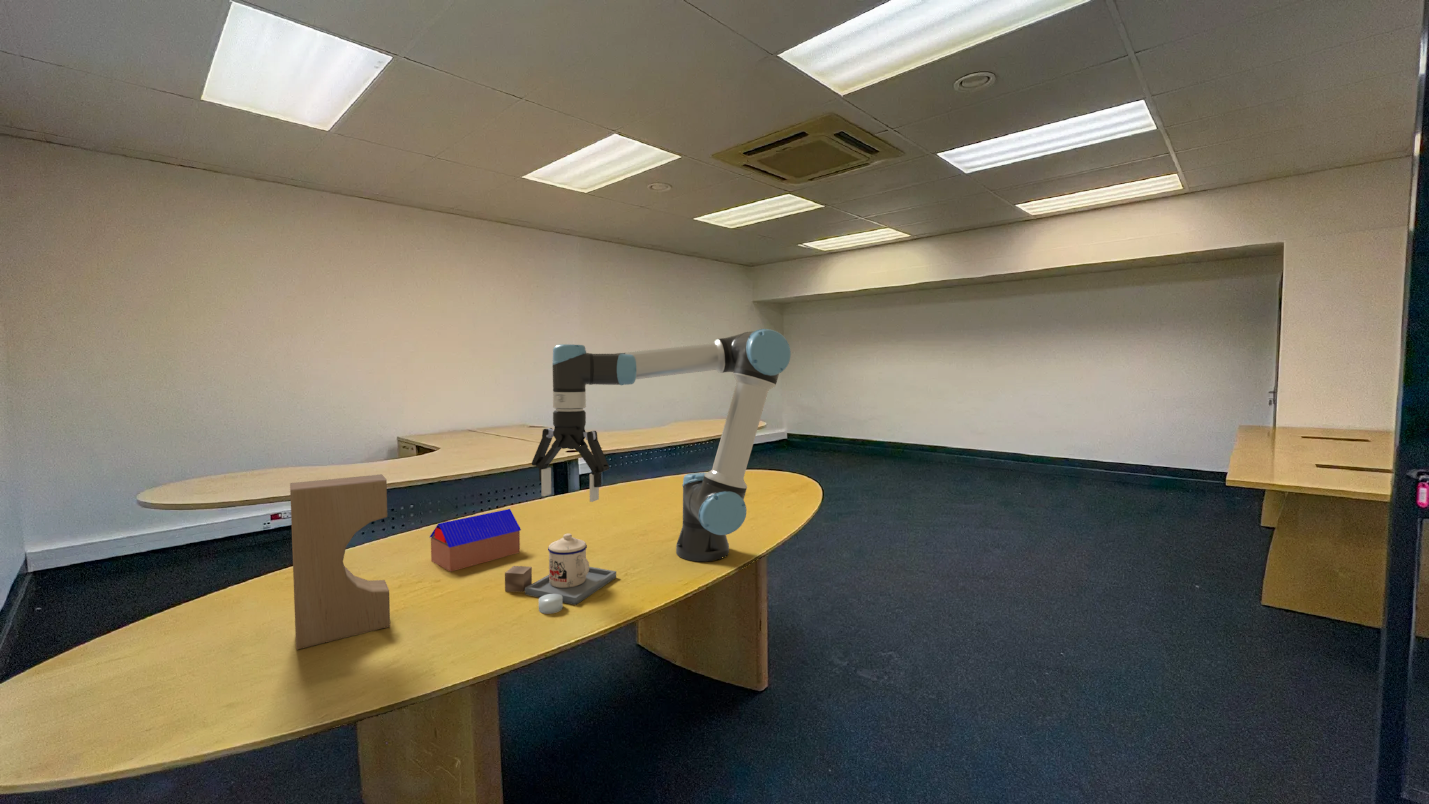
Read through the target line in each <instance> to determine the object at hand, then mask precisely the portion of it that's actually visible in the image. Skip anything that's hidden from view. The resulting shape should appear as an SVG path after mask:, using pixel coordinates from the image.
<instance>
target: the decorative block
mask: <svg viewBox="0 0 1429 804" xmlns="http://www.w3.org/2000/svg"><path fill="white" fill-rule="evenodd" d="M387 483H388V482H387V478H385V476H384V475H383V474H371V475H370V474H369V475H360V476H352V477H339V478H332V479H331V478H330V479H329V478H328V479H321V480H319V479H318V480H309V481H308V480H307V481H299V482H297V481H296V482H290V483H289V488H290V489H289V490H290V491H289V493H290V494H289V495H290V519H291V520H290V522H291V523H290V524H291V544H292V545H291V547H292V549H291V550H292V575H293V598H294V599H293V600H294V601H293V602H294V626H295V627H294V629H295V630H294V631H295V649H297V650H300V649H305V648H309V647H313V646H316V645H321V644H324V643H325V642H326V643H328V642H334V641H336V640H341V639H344V638H345V639H346V638H348V637H353V636H356V635H362V634H366V633H369V632H373V631H377V630H381V629H385V628H389V627H391V609H390V602H391V601H390V589H389V587H388V584H387V582H386V580H385V579H376V580H374V579H372V580H368V579H365V578H362V577H359V576H356V575H354V574H353V572H351V571H350V570H349V569H348V568H347V567H346V565H345V564H344V559H345V552H346V549H347V546H348V545H349V543H350V542H351V540H352V539H353V537H354V536H355V534H356V533H357V532H359V531H360V530H361V529H363V528H365V527H366V526H367V525H368V524H370V523H372V522H375V521H378V520H381V519H385V518H388V491H387V490H388V489H387V487H388V486H387Z"/></svg>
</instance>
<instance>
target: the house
mask: <svg viewBox="0 0 1429 804" xmlns="http://www.w3.org/2000/svg"><path fill="white" fill-rule="evenodd" d="M520 531H522V529H521V527H520V525H519V523H518V522H517V519H516V517H515V516H514V513H513V512H512V510H511V509H510V508H509V509H508V508H507V509H503V510H497V511H494V512H493V511H492V512H489V513H488V512H487V513H483V514H478V515H474V516H469V517H464V518H459V519H455V520H450V521H445V522H440V523H438V524H437V525H436V526H435V527H434V529H433V531H432V533H430V535H429V538H430V560H431V562H432V563H434V564H436V565H437V566H439V567H441V568H443V569H444V570H446V571H448V572H450V573H451V572H454V571H457V570H461V569H465V568H468V567H472V566H476V565H480V564H482V563H486V562H491V561H494V560H498V559H501V558H502V559H503V558H504V557H508V556H511V555H512V556H513V555H515V554H519V552H520V551H521V549H520V548H521V547H520V546H521V543H520V539H521V538H520V537H521V536H520V535H521V534H520Z"/></svg>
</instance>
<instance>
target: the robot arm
mask: <svg viewBox="0 0 1429 804" xmlns="http://www.w3.org/2000/svg"><path fill="white" fill-rule="evenodd" d="M791 355H792V353H791V347H790V344H789V342H788V340H787V339H786V337H785V336H784V335H783V334H782V333H780V332H779V331H777V330H773V329H770V328H769V329H767V328H759V329H756V330H751V331H745V332H742V333H738V334H736V335H733V336H728V337H723V338H716V339H714V341H713V342H711V343H709V342H708V343H702V344H701V343H700V344H693V345H692V344H691V345H682V346H674V347H673V346H672V347H661V348H655V349H647V350H646V349H645V350H637V351H636V350H635V351H628V352H617V353H616V352H615V353H589V352H587V350H586V346H585V345H583V344H570V343H568V344H567V343H565V344H563V343H562V344H556V345H555V346H554V347H553V349H552V408H553V409H555V410H553V412H552V425H553V427H554V428H552V427H548V428H543V429H542V435H541V439H540V441H539V445H538V447H537V449H536V451H535V454H534V456H533V458H532V461H531V465H532V466H535V467H537V468H538V477H539V478H538V481H539V482H540V483H541V484H540V485H541V497H546V496H550V495H552V467H550V464H551V463H552V462H553V460H554V459H555V458H556V456H557V455H558V454H559V452H560V451H561V449H562V450H564V449H568V450H575V451H576V452H577V453H579V455H580V457H581V458H582V459H583V460H584V462H585V463H586V465H587V467H588V468H589V469H590V471H591V473H589V502H590V503H591V502H592V503H593V502H596V501H598V500H599V499H600V496H599V495H600V493H599V491H600V488H601V486H602V484H603V483H602V477H603V476H602V473H604V472H606V471H608V470H609V469H610V466H609V463H608V461H607V459H606V456H605V453H604V452H603V449H602V447H601V444H600V443H599V440H598V439H599V438H598V432H597V430H591V431H586V429H585V427H586V423H587V422H586V421H587V417H586V415H587V413H586V411H585V410H584V409H585V408H586V407H587V403H586V401H587V399H586V397H587V396H586V394H587V393H586V390H587V389H586V386H587V385H589V386H590V385H604V386H605V385H608V386H613V385H616V386H628V385H633V384H634V383H635V382H636V380H641V379H649V378H659V377H668V376H675V375H676V376H677V375H683V374H691V373H693V374H694V373H701V372H702V373H703V372H709V371H717V372H718V373H719V374H723V373H733V374H732V376H733V377H734V379H735V382H736V384H735V387H734V391H733V394H732V398H731V401H730V405H729V408H728V412H727V415H726V418H725V423H724V425H723V428H722V433H721V437H720V441H719V444H718V447H717V451H716V455H715V458H714V461H713V465H712V469H711V470H709V471H708V472H695V473H694V472H692V473H687V474H685V475H684V476H683V482H682V527H681V529H680V533H679V535H678V539H677V542H676V545H675V550H676V551H675V552H676V555H677V556H678V557H679V558H681V559H684V560H687V561H692V562H713V560H715V561H717V560H716V559H719V560H722V559H723V558H722V557H725V556H726V555H727V556H728V555H729V554H730V544H729V541H728V538H727V535H730V534H732V533H734V532H736V531H737V530H739V529H740V528H741V526H742V525H743V524H744V522H745V520H746V517H747V506H746V502H745V497H746V494H747V493H746V492H747V490H748V485H747V484H746V481H745V474H746V471H747V466H748V463H749V460H750V457H751V454H752V450H753V446H754V442H755V438H756V436H757V432H758V429H759V425H760V422H761V417H762V414H763V411H764V406H765V404H766V401H767V396H768V393H769V391H770V390H771V389H773V388H775V387H776V386H777V382H778V379H779V375H780V373H782V372H784V371H785V370H786V368H787V367H788V366H789V364H790V360H791V358H792V357H791ZM553 437H554V439H555V440H554V442H553V443H552V444H551V442H552V440H553ZM585 440H586V441H587V443H588V444H587V443H586V441H585ZM550 445H551V447H550ZM549 447H550V448H549ZM728 553H729V554H728ZM727 556H726V557H727ZM726 557H725V558H726ZM721 558H722V559H721Z"/></svg>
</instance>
